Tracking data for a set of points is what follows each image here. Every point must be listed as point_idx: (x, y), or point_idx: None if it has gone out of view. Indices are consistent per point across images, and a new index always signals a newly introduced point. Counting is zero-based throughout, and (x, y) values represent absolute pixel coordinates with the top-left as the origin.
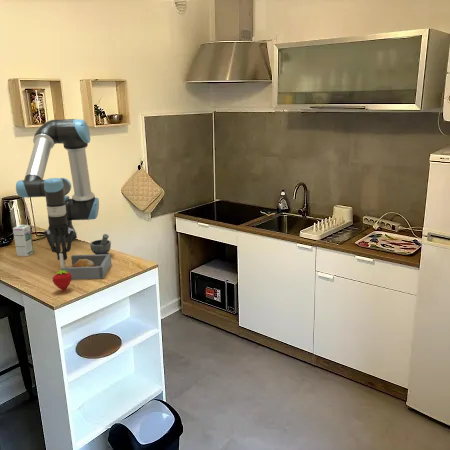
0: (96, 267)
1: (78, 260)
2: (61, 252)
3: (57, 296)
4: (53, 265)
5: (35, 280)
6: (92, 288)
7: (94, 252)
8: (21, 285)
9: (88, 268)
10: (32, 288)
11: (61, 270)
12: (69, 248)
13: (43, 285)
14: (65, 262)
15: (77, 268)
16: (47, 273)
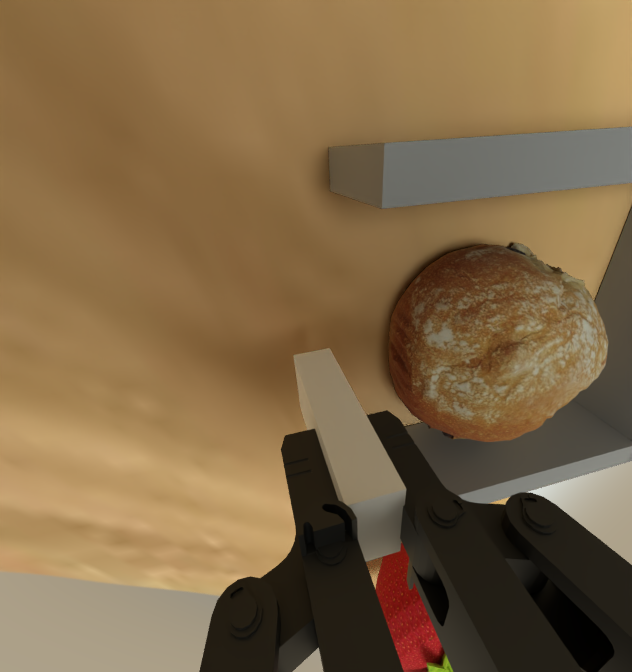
0: (612, 464)
1: (504, 390)
2: (369, 527)
3: (376, 577)
4: (42, 136)
5: (148, 502)
6: (508, 497)
7: None
8: (105, 568)
9: (558, 478)
10: (212, 570)
11: (441, 669)
12: (570, 604)
13: (256, 533)
14: (340, 368)
15: (489, 501)
16: (154, 385)
